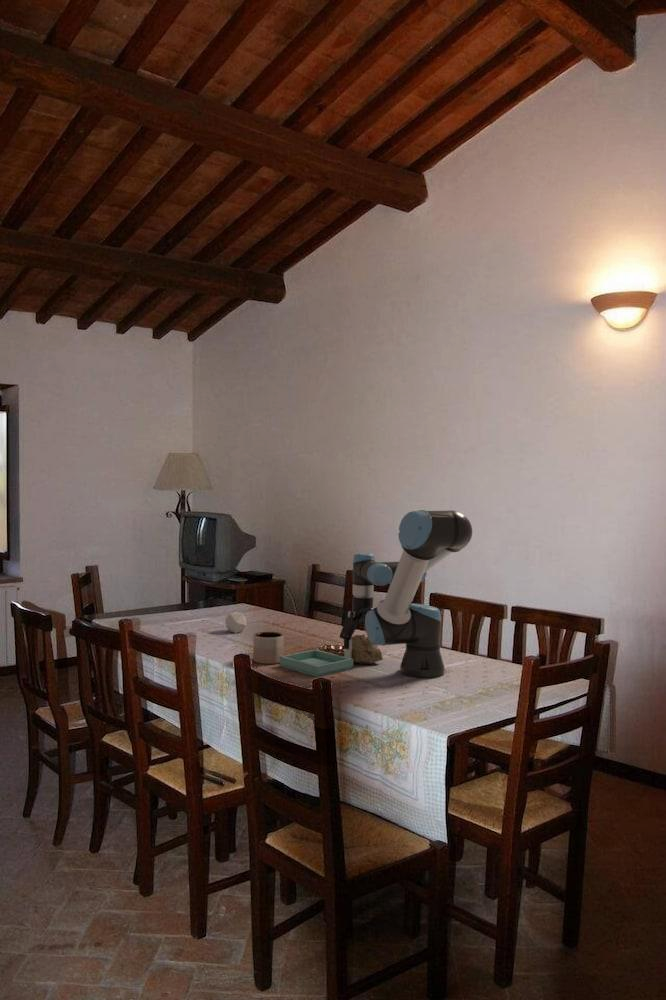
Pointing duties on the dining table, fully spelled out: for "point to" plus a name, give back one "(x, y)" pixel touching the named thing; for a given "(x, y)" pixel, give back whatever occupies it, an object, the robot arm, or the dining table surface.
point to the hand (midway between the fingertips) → (361, 654)
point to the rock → (364, 650)
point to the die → (235, 622)
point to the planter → (268, 647)
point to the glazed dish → (316, 663)
